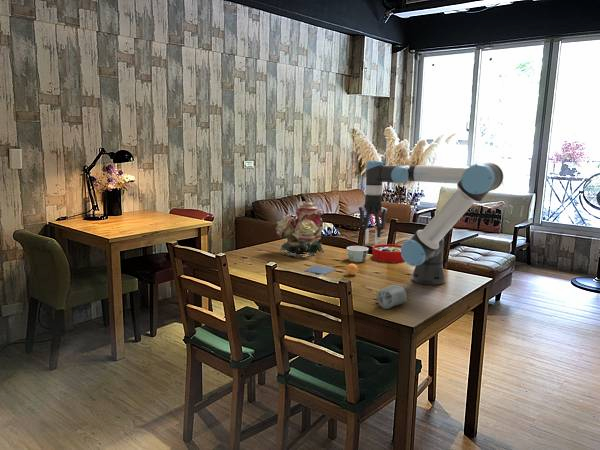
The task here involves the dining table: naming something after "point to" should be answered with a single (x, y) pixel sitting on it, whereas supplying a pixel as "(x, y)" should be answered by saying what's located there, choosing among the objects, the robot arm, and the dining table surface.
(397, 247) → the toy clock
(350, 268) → the ball
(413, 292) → the dining table surface
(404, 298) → the spool
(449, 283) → the dining table surface
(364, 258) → the food container
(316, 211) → the rose bouquet
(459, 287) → the dining table surface
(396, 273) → the dining table surface
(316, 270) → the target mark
